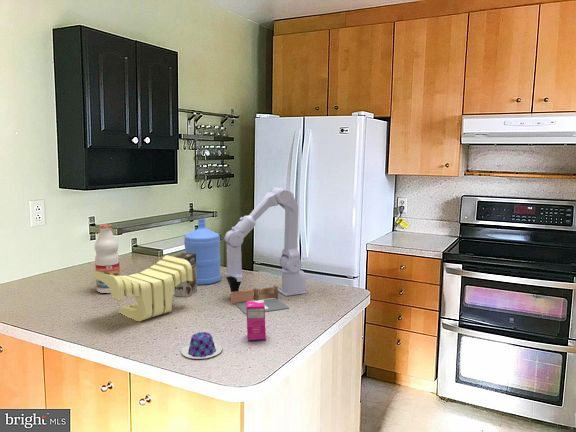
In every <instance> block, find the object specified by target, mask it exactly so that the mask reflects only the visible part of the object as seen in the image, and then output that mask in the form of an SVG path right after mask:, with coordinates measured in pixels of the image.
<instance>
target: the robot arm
mask: <svg viewBox="0 0 576 432" xmlns="http://www.w3.org/2000/svg"><path fill="white" fill-rule="evenodd" d="M276 206H280V207H281V208H282V209H283V210H284V238H283V239H284V245H283V247H284V248H283V249H282V251H281V256H280V257H279V265H280V267H282V268H281V289H279V288H278V292H279V293H281V294H282V295H283V296H286V297H287V296H294V295H295V296H296V295H302V294H307V291H306V287H307V286H306V279H307V278H306V273H305V272H304V271H303V270H301V269H302V265H303V263H302V260H301V255H300V252H299V250H298V236H299V235H298V233H299V231H298V230H299V229H298V228H299V204H298V202H297V201H296V199H295V197H294V193H293V192H292V191H291V190H289V189H288V188H284V187H280V186H273V187H272V188H270V190H269V191H267V192H266V193H265V195H264V197H263V198H262V199H261V200H260V201H259V202H258V204H257V205H256V206H255V207H254V209H253V210H251V212H250V213H249V215H244V216H241V217H240V218H239V221H238V222H237V224H235V226H232V227H231V230H228V231H227V232H226V233H225V236H224V239H223V240H224V242H225V243H226V271H224V272H223V275H224V276H226V277H225V279H226V280H227V283H228V284H229V289H230V293H231V292H236V291H240V286H241V283H242V282H243V269H242V244H243V243H244V238H246V236H247V235H248V234H249V233H250V232H251V231H252V230H253V229H254V227H256V221H257V220H258V219H259V218H260V217H261V216H262V215H263V214H264V213H265V212H266V211H267V210H268V209H269V208H271V207H276Z"/></svg>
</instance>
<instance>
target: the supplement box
mask: <svg viewBox="0 0 576 432" xmlns="http://www.w3.org/2000/svg"><path fill="white" fill-rule="evenodd" d="M246 306H247V315H246V328H247V342H267V341H266V340H267V339H266V338H267V337H266V333H267V332H266V312H265V304H264V300H259V301H247V303H246Z"/></svg>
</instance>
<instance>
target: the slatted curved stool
mask: <svg viewBox="0 0 576 432" xmlns="http://www.w3.org/2000/svg"><path fill="white" fill-rule="evenodd" d="M93 279H95V280H96V279H97V280H100V281H102V282H103V283H105V284H106V285H107V286H108V287H109V289H110V291H111V294H110V295H111V297H112V299H114V300H117V301H122V300H123V299H125V298H127V297H132V296H134V298H135V300H136V302H134V303H132V304H129V305H125V306H122V307H120V308H119V311H118V314H119V313H121V314H123V315H122V316H124V315H125V316H124V317H126V316H127V317H126V318H129V319H131V318H132V319H131V320H133V319H134V321H137V322H142V321H144V320H149V319H150V318H154V317H157V316H161V315H163V314H167V313H170V312H172V311H173V310H172V309H173V308H172V307H173V305H172V304H173V297H174V286H175V287H177V285H179V284H180V282H185V281H186V280H187V281H193V278H192V267H191V264H190V263H189V262H188V261H187V260H185V259H180V258H176V256H170V255H167V254H166V255H165V256H163V257H162V258H161V259H159V260H158V261H157V262H156V263H155V264H153V265H151V266H150V267H149V268H146V269H143V270H142V271H139V272H138V273H137V272H136V273H133V274H129V275H120V276H114V275H108V274H104V273H101V272H98V271H96V269H95V270H93ZM121 314H120V315H121Z"/></svg>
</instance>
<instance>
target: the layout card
mask: <svg viewBox="0 0 576 432" xmlns="http://www.w3.org/2000/svg"><path fill="white" fill-rule="evenodd" d="M260 300H264V304H265V313H266V312H267V313H269V312H274V311H275V312H276V311H283V310H289V309H290V307H289V306H288V305H286V304H285V303H284V302H282V301H281V300H280V299H279V298H278V299H277V298H267V299H260ZM252 301H254V295H253V300H252ZM258 301H259V294H258ZM246 303H247V301H245V302H237V303H233V304H234V305H235V306H236V307H237V308H238V309H239V310H240V311H241V312H242V313H243V314H244V315H245V316H247V306H246Z"/></svg>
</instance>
